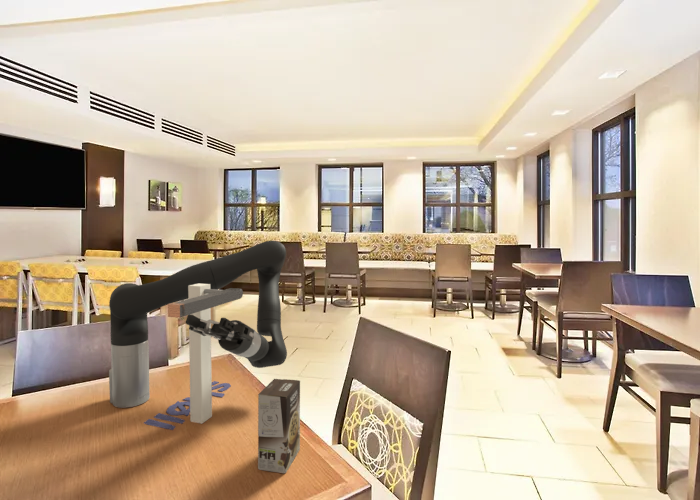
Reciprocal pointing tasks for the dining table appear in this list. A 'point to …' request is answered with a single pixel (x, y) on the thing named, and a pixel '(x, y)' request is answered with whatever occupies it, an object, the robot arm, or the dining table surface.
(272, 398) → the coffee box
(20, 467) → the dining table surface
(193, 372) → the stand
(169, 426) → the signage
